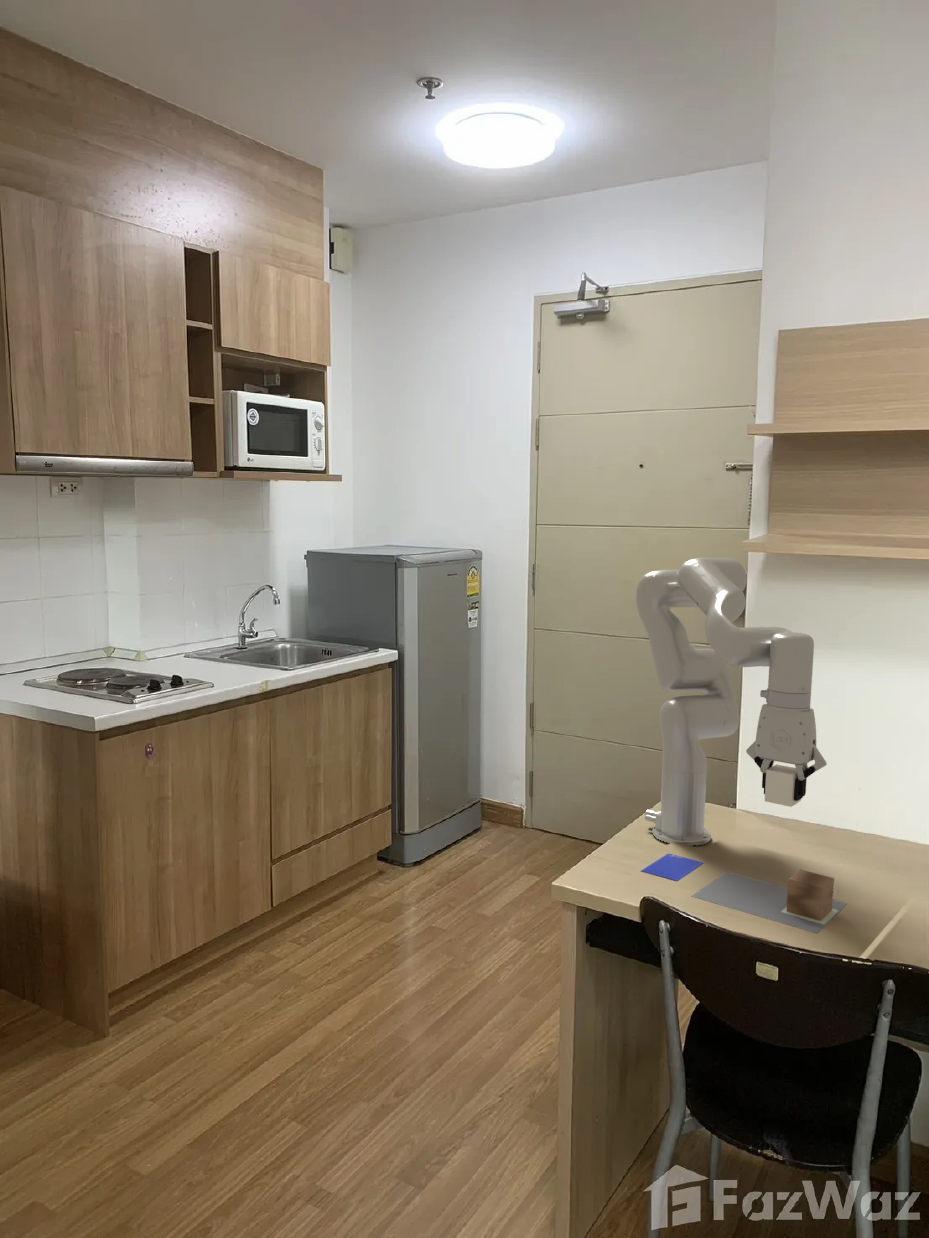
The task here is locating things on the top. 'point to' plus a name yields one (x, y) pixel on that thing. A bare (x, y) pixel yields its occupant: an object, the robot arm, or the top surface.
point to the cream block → (780, 785)
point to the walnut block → (810, 895)
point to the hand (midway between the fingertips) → (783, 794)
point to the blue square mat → (672, 867)
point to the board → (760, 900)
